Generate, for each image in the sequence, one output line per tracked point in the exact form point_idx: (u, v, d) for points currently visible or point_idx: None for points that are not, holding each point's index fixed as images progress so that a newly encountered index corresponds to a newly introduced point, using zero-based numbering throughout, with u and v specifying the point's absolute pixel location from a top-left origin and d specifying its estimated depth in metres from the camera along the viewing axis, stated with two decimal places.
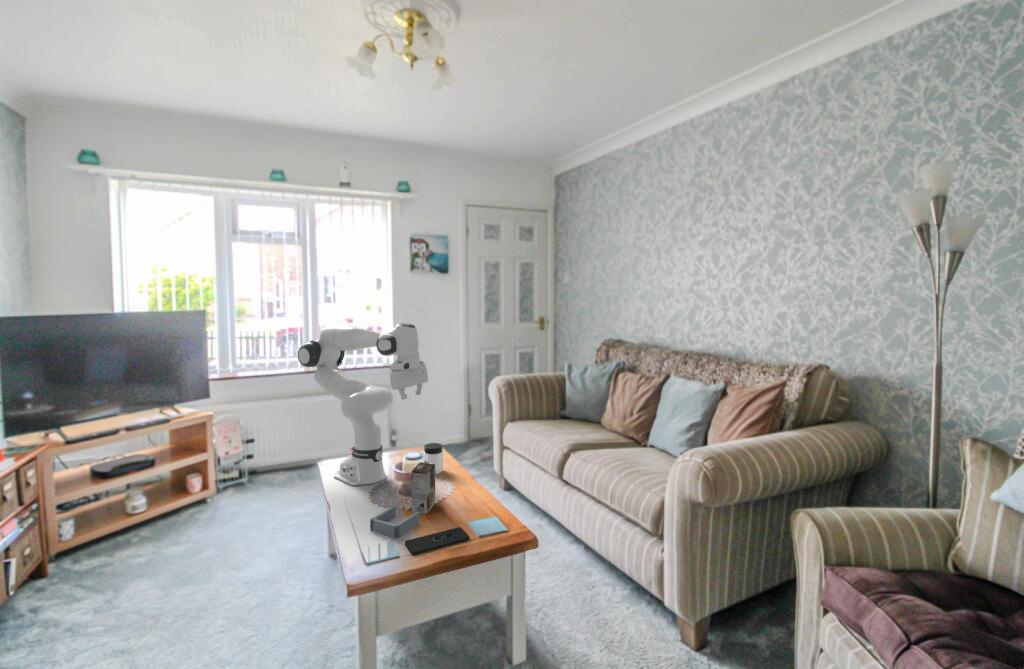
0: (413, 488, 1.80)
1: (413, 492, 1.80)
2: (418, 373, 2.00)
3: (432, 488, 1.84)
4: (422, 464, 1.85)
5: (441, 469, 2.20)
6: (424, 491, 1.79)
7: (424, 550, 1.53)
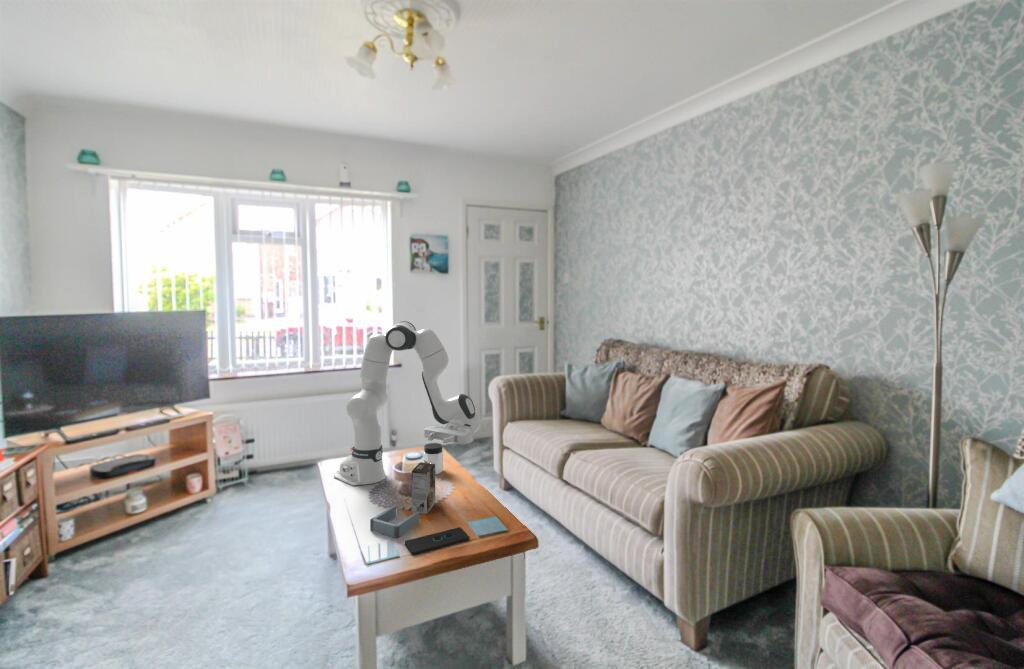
0: (413, 488, 1.80)
1: (413, 492, 1.80)
2: None
3: (432, 488, 1.84)
4: (422, 464, 1.85)
5: (441, 469, 2.20)
6: (424, 491, 1.79)
7: (424, 550, 1.53)
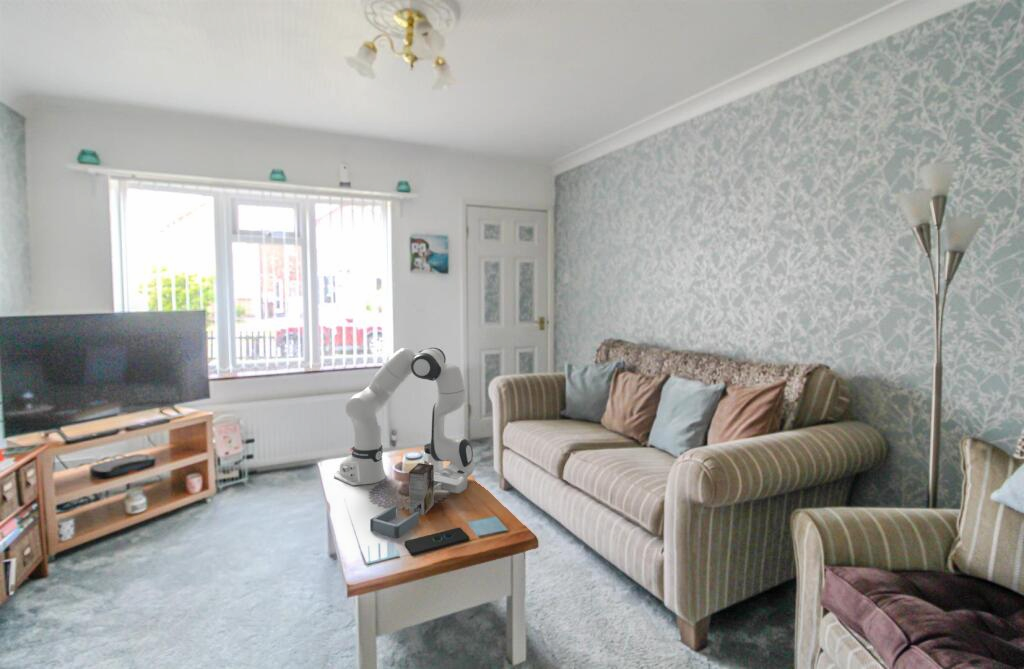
0: (410, 489, 1.79)
1: (410, 493, 1.79)
2: None
3: (430, 489, 1.83)
4: (420, 465, 1.84)
5: None
6: (421, 492, 1.78)
7: (424, 550, 1.53)
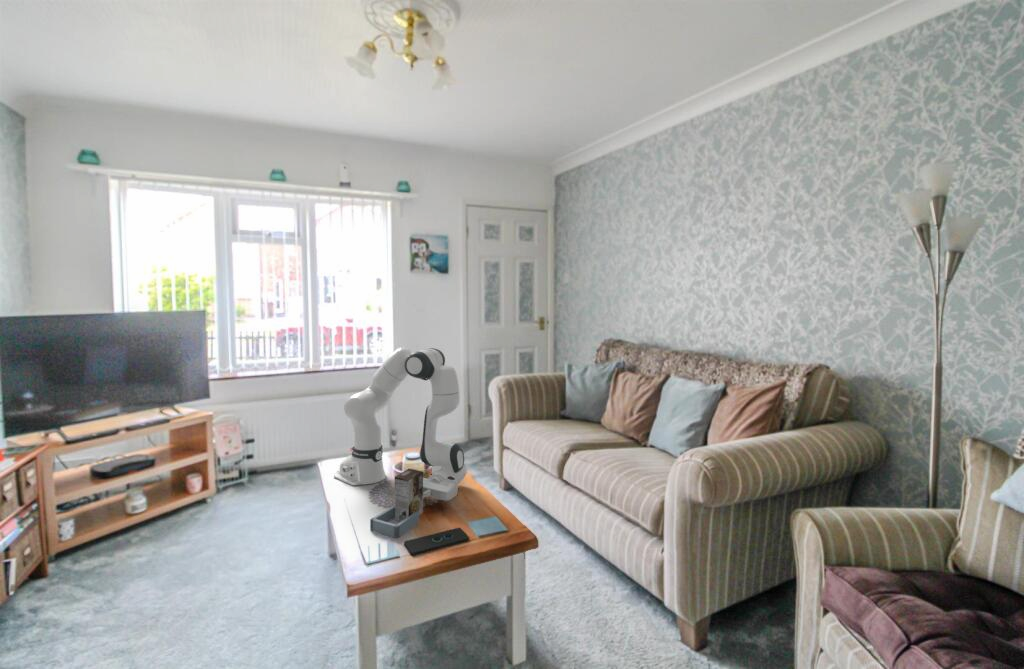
0: (396, 495, 1.73)
1: (396, 499, 1.74)
2: None
3: (418, 497, 1.76)
4: (409, 471, 1.78)
5: None
6: (406, 499, 1.72)
7: (423, 551, 1.53)
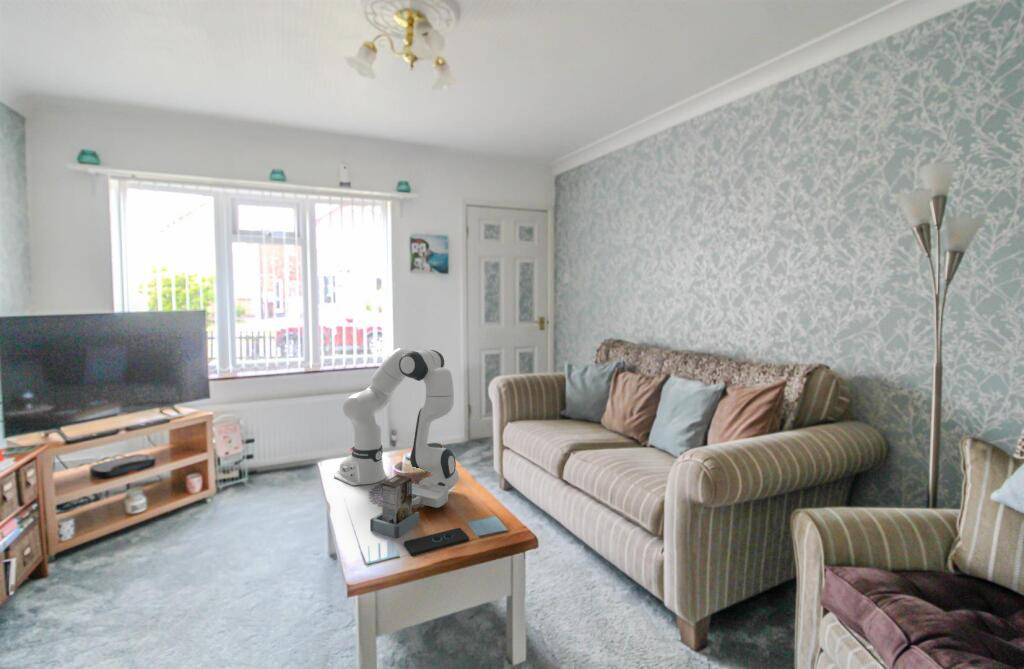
0: (383, 502, 1.67)
1: (383, 506, 1.68)
2: None
3: (406, 504, 1.70)
4: (398, 477, 1.72)
5: None
6: (393, 507, 1.66)
7: (423, 551, 1.53)
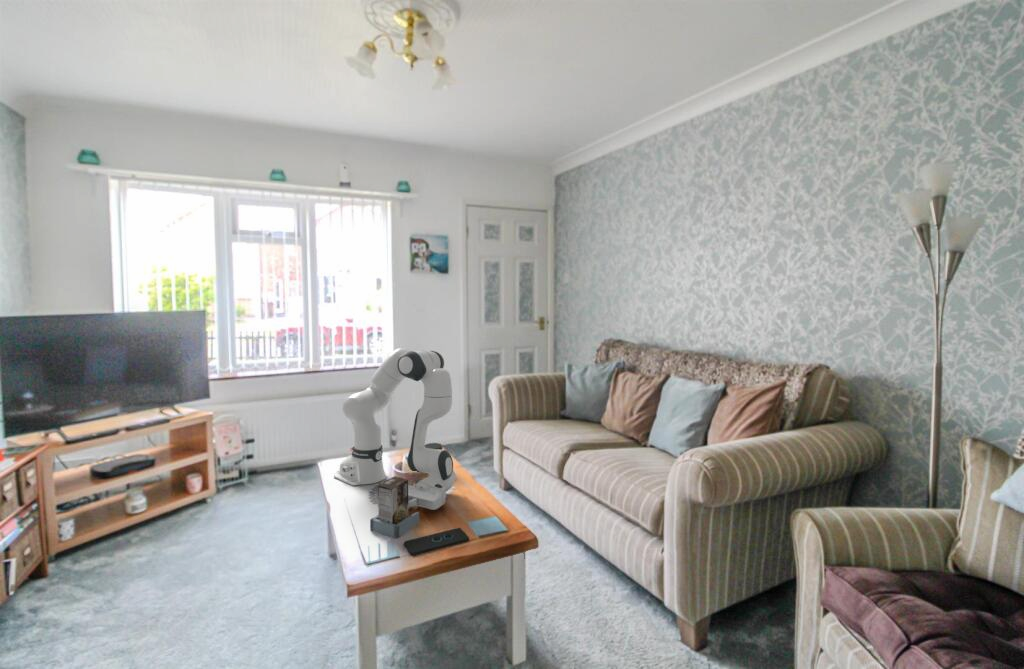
0: (379, 504, 1.66)
1: (379, 508, 1.66)
2: None
3: (402, 506, 1.69)
4: (394, 479, 1.71)
5: None
6: (390, 509, 1.64)
7: (423, 551, 1.53)
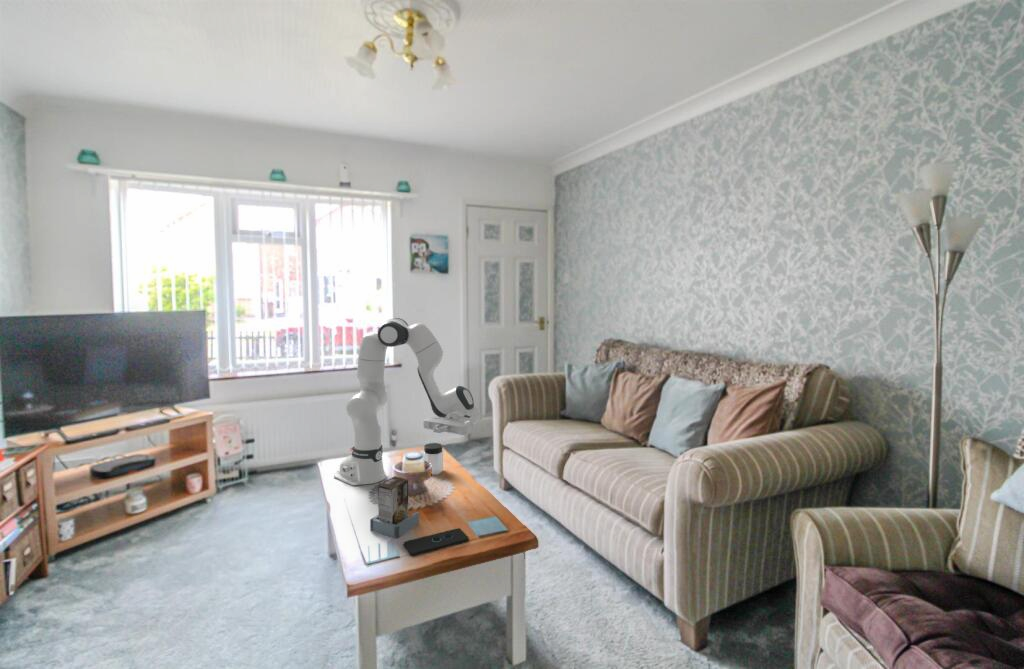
0: (379, 504, 1.66)
1: (379, 508, 1.66)
2: None
3: (402, 506, 1.69)
4: (394, 479, 1.71)
5: (441, 469, 2.20)
6: (390, 509, 1.64)
7: (423, 551, 1.53)
